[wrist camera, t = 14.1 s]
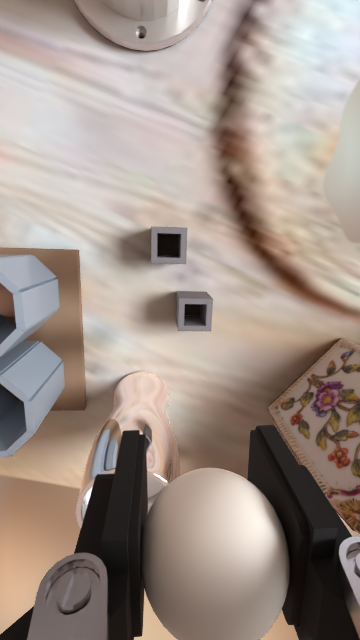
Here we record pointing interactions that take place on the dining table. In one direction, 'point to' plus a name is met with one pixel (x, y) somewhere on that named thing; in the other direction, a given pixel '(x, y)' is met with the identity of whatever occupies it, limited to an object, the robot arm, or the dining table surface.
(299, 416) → the decorative jar
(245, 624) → the ivory ball
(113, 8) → the robot arm
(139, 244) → the dining table surface
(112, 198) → the dining table surface
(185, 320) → the stand
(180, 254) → the stand
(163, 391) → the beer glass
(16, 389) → the tubes
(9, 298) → the terracotta ball
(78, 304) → the rack board
